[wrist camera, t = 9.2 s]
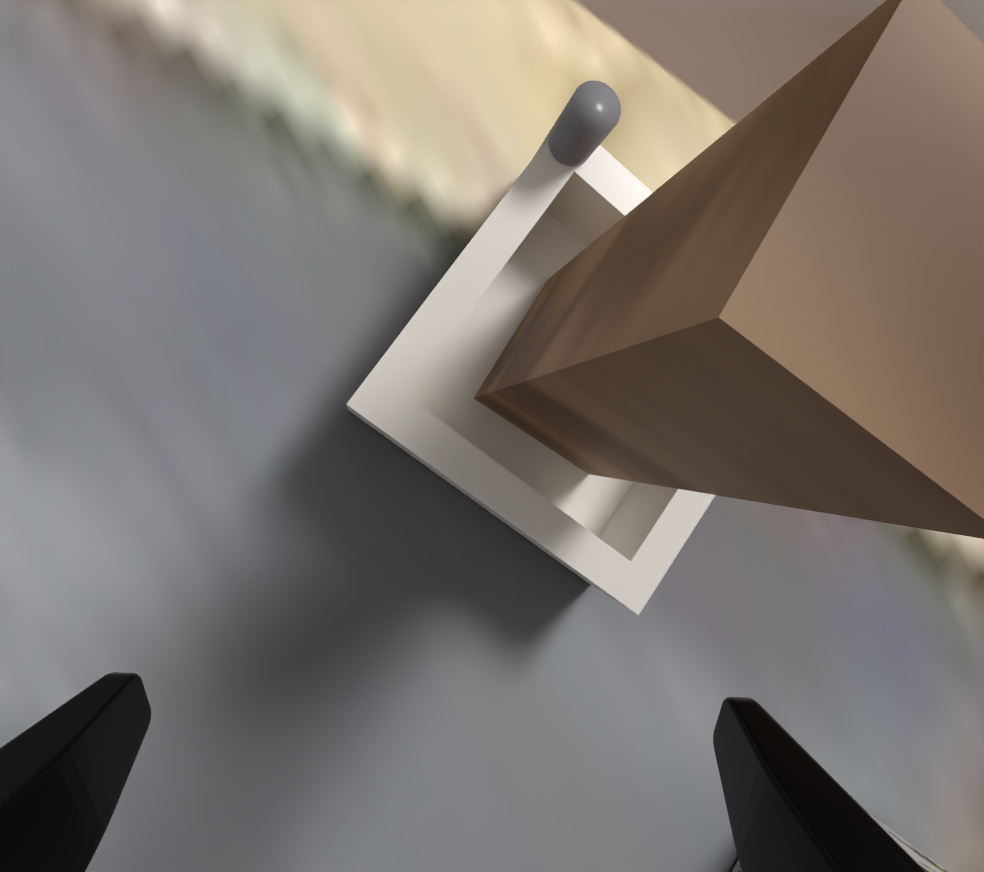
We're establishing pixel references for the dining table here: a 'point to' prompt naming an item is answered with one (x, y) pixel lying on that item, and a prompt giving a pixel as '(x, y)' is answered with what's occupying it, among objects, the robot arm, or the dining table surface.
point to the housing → (479, 343)
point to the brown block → (791, 299)
